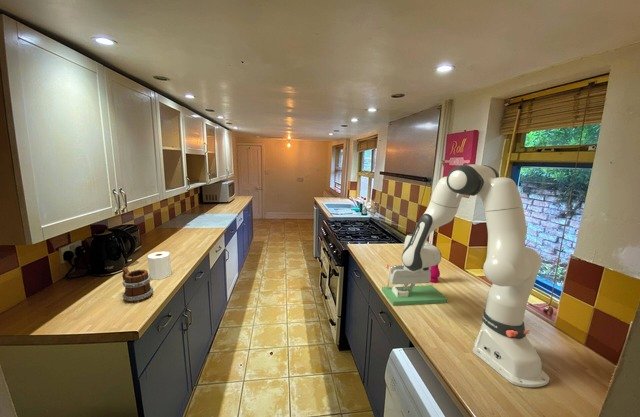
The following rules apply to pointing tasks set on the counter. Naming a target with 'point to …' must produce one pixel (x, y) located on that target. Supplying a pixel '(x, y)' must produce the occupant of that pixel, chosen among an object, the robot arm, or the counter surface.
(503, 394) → the counter surface
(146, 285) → the wooden bucket
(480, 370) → the counter surface
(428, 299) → the green
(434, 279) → the pepper mill
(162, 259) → the toilet paper
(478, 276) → the counter surface
